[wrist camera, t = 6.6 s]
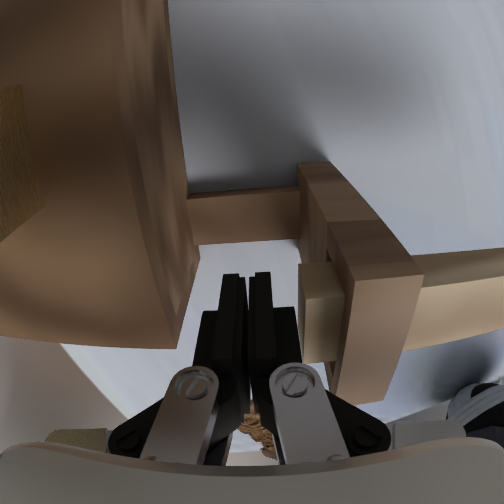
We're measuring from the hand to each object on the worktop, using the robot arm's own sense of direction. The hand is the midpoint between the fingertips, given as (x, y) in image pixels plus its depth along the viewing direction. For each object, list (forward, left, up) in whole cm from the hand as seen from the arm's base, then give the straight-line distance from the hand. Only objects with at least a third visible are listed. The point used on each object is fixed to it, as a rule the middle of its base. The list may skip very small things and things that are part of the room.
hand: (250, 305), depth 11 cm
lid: (-7, -10, -3) cm, 13 cm away
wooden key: (0, +9, 0) cm, 9 cm away
